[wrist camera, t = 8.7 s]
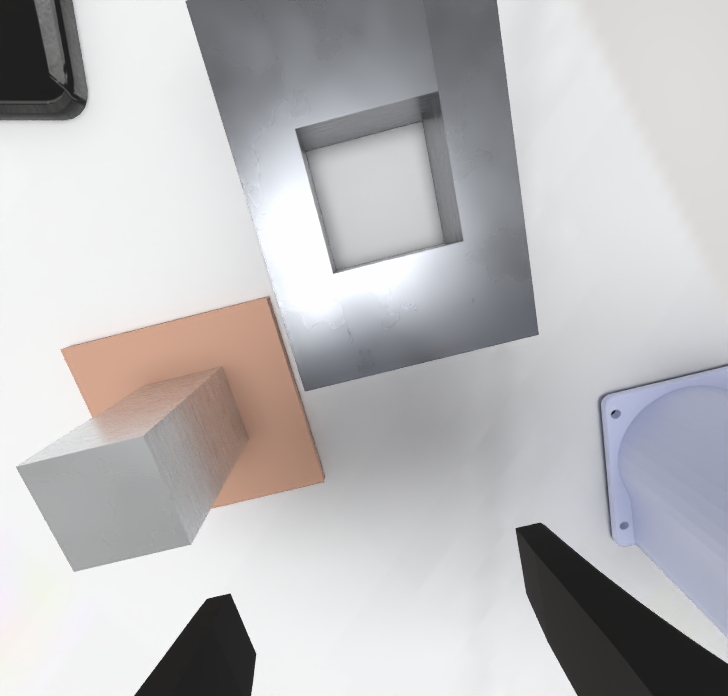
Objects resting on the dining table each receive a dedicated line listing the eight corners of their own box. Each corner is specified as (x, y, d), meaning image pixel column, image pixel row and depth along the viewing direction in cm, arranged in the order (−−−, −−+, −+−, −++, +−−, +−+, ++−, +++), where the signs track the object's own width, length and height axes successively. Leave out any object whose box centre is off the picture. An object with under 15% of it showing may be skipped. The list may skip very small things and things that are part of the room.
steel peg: (249, 438, 19) (191, 544, 12) (173, 457, 19) (73, 571, 12) (222, 365, 18) (143, 435, 11) (143, 385, 18) (15, 466, 11)
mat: (324, 476, 20) (324, 481, 19) (148, 518, 20) (143, 524, 20) (268, 296, 17) (266, 297, 17) (68, 346, 18) (60, 349, 17)
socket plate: (508, 321, 18) (538, 334, 15) (312, 369, 18) (304, 391, 16) (459, -16, 15) (486, -83, 12) (217, 49, 15) (185, 0, 12)
